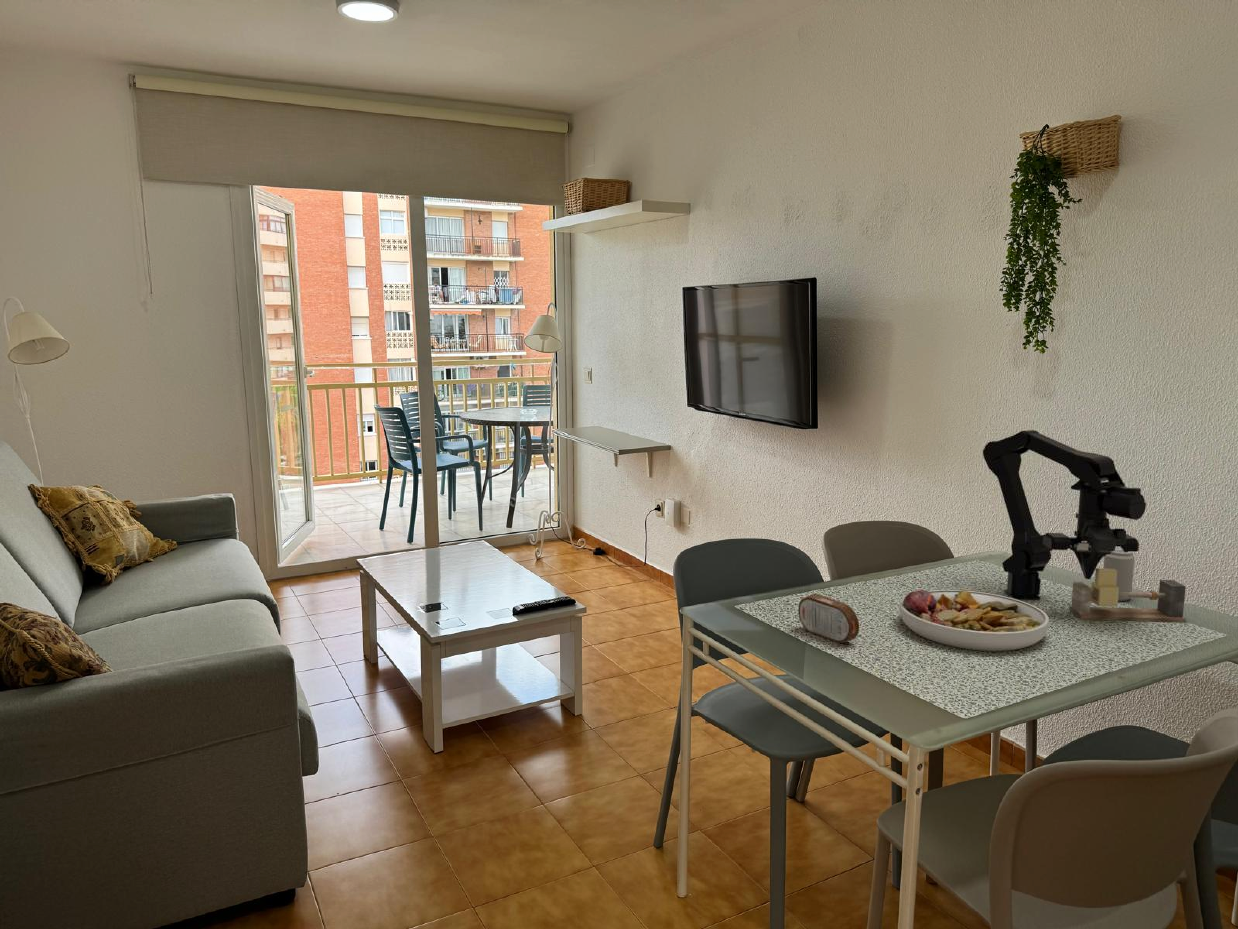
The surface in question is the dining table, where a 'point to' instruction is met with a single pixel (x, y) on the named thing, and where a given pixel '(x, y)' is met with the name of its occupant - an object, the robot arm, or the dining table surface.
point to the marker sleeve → (1105, 588)
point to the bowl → (973, 619)
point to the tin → (828, 618)
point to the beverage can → (1121, 569)
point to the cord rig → (1166, 611)
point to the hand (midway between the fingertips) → (1087, 578)
